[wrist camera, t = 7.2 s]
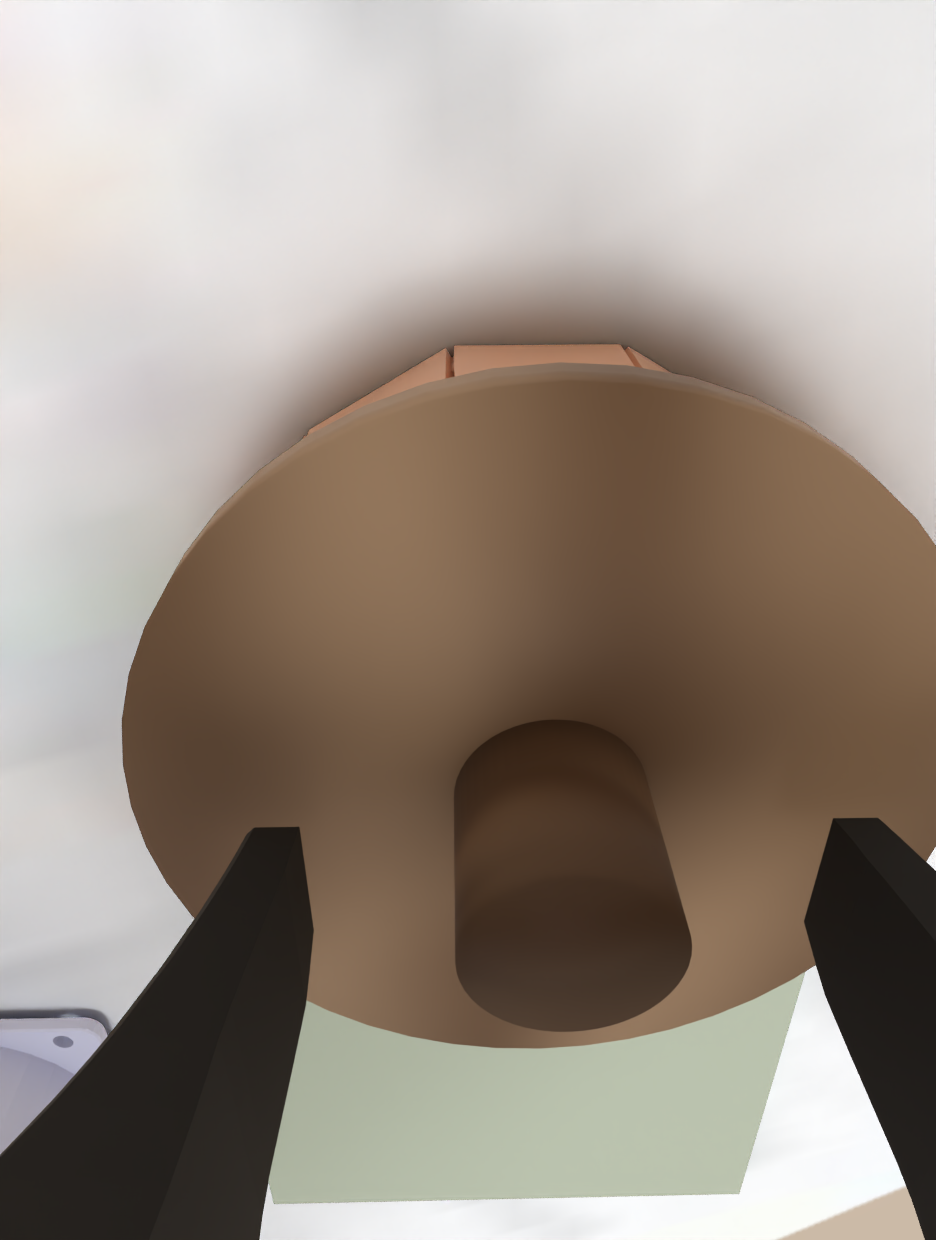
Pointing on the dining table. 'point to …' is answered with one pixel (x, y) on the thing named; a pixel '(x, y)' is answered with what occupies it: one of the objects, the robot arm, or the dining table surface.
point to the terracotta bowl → (496, 365)
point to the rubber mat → (526, 1112)
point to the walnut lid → (543, 698)
